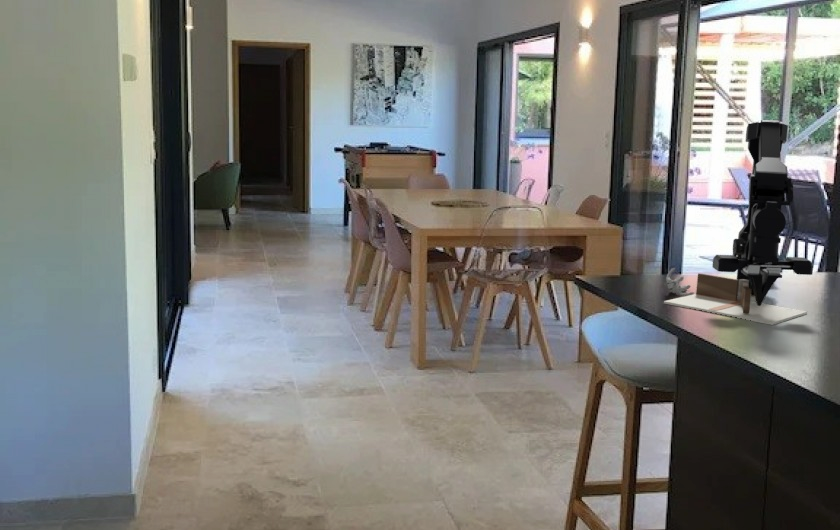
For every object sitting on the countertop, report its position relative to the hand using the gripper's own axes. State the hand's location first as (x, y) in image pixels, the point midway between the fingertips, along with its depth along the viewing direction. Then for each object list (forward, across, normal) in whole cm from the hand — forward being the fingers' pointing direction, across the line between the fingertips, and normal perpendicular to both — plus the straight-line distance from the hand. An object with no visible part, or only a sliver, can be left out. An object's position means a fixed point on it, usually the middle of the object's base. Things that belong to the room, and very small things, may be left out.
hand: (758, 305), depth 183 cm
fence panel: (+1, +2, -3) cm, 4 cm away
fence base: (+1, +5, -13) cm, 14 cm away
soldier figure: (+2, +13, -19) cm, 23 cm away
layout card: (+2, +4, -5) cm, 6 cm away
